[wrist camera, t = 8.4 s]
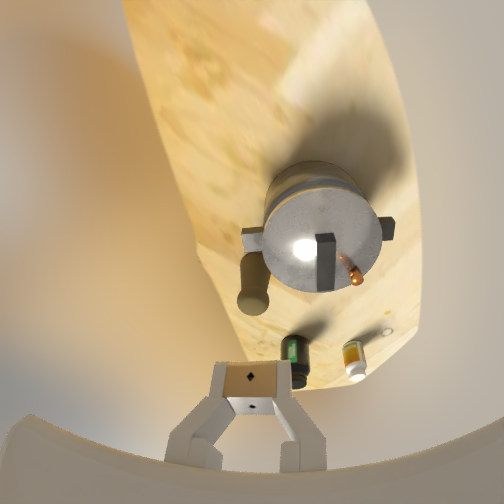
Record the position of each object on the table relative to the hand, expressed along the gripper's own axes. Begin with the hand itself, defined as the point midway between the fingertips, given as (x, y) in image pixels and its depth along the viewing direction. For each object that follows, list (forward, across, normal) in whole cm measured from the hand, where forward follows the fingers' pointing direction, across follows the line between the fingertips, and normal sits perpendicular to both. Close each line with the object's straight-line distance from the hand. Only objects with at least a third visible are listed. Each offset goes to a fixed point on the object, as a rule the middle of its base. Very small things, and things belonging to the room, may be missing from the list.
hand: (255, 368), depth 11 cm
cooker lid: (+25, -6, +11) cm, 28 cm away
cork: (+35, +5, +22) cm, 42 cm away
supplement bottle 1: (+35, -1, +47) cm, 59 cm away
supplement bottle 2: (+35, -16, +51) cm, 64 cm away
